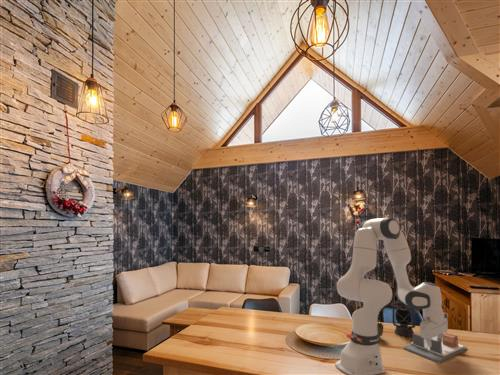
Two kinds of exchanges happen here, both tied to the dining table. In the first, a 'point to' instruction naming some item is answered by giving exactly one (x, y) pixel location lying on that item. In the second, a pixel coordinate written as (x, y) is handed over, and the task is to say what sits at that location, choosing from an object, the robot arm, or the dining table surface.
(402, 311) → the lantern
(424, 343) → the grey strip
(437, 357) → the slate board
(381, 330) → the dark ornate pot
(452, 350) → the white strip
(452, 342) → the rust block
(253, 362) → the dining table surface
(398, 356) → the dining table surface
